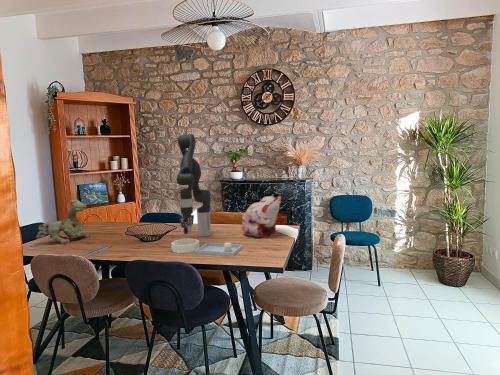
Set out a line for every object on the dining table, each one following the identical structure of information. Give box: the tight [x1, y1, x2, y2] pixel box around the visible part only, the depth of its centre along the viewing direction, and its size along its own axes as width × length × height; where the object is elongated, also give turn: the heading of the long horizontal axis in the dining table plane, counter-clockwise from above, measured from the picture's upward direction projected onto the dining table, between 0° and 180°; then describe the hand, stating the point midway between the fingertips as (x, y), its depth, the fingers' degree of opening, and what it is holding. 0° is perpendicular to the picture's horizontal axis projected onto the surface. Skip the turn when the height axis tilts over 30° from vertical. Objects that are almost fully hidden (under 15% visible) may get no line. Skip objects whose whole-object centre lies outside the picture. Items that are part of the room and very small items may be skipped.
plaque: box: [81, 245, 114, 259], centre depth 227 cm, size 33×10×1 cm, turn 163°
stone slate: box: [187, 225, 192, 235], centre depth 228 cm, size 4×4×5 cm
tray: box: [194, 242, 244, 257], centre depth 223 cm, size 18×24×3 cm
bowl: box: [170, 238, 201, 254], centre depth 227 cm, size 16×16×5 cm
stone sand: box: [223, 241, 232, 252], centre depth 221 cm, size 4×4×5 cm
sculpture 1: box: [35, 198, 91, 245], centre depth 257 cm, size 29×27×30 cm
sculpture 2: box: [241, 195, 282, 238], centre depth 262 cm, size 31×29×30 cm
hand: (187, 232), depth 229 cm, fingers closed on stone slate, 4 cm apart
